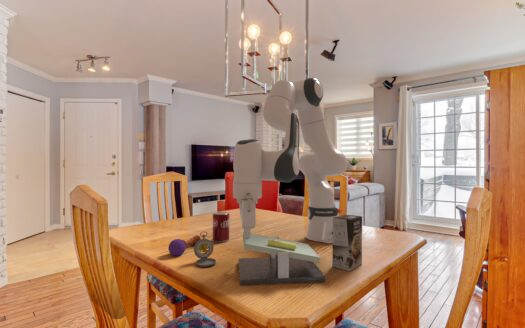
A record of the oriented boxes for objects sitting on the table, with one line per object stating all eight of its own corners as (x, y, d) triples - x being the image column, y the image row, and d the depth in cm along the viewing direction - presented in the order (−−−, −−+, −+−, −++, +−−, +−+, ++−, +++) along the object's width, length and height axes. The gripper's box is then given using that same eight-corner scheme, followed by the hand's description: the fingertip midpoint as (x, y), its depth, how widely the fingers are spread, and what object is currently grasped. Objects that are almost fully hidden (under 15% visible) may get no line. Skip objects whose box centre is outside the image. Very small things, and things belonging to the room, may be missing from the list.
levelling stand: (308, 260, 98) (308, 235, 98) (325, 282, 80) (325, 251, 80) (238, 262, 95) (238, 237, 95) (240, 285, 77) (240, 254, 77)
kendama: (204, 233, 119) (182, 242, 100) (201, 247, 119) (178, 259, 100) (192, 230, 121) (167, 238, 101) (189, 244, 120) (163, 255, 101)
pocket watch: (206, 269, 89) (206, 237, 89) (187, 264, 94) (187, 234, 94) (223, 261, 96) (223, 232, 96) (205, 257, 101) (205, 229, 101)
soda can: (231, 238, 126) (231, 211, 127) (227, 243, 119) (227, 214, 119) (215, 238, 127) (215, 211, 127) (210, 242, 120) (210, 214, 120)
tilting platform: (306, 248, 96) (308, 238, 96) (319, 262, 82) (321, 250, 82) (242, 236, 93) (244, 226, 93) (244, 249, 79) (247, 236, 79)
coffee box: (350, 272, 87) (350, 219, 87) (331, 266, 92) (331, 217, 92) (362, 264, 94) (363, 215, 94) (344, 260, 98) (345, 213, 99)
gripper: (261, 195, 77) (260, 246, 76) (255, 189, 97) (254, 229, 97) (237, 195, 76) (237, 247, 76) (236, 189, 96) (236, 230, 96)
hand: (247, 237), depth 86 cm, fingers closed, pressing on tilting platform
